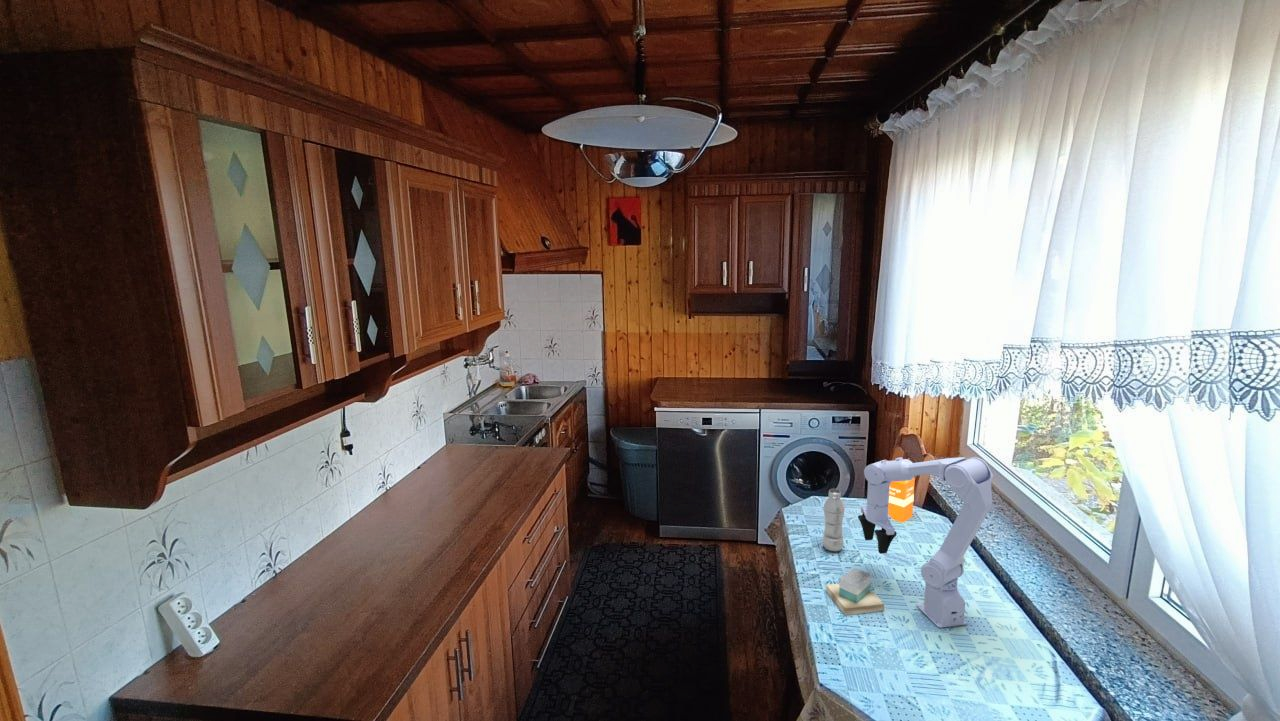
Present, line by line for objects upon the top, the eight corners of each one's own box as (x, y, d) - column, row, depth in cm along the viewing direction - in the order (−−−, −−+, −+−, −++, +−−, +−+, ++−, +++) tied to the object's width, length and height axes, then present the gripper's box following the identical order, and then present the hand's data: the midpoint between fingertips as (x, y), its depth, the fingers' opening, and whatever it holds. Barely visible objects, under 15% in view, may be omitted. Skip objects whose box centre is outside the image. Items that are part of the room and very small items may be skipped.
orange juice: (888, 508, 208) (891, 457, 204) (912, 516, 201) (916, 463, 198) (878, 514, 203) (881, 463, 199) (902, 523, 196) (905, 469, 193)
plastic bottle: (820, 551, 179) (822, 493, 176) (824, 542, 185) (826, 485, 182) (841, 556, 176) (843, 497, 173) (844, 546, 182) (846, 488, 179)
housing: (856, 603, 149) (857, 586, 148) (839, 595, 153) (839, 579, 152) (870, 591, 154) (871, 575, 153) (853, 584, 158) (854, 567, 157)
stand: (883, 610, 149) (884, 604, 148) (844, 615, 147) (845, 608, 147) (862, 587, 160) (862, 580, 159) (826, 591, 158) (826, 584, 158)
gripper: (905, 512, 153) (903, 557, 155) (877, 491, 167) (875, 532, 169) (881, 514, 152) (879, 560, 154) (855, 492, 166) (853, 534, 168)
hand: (875, 546), depth 162 cm, fingers open, 7 cm apart
